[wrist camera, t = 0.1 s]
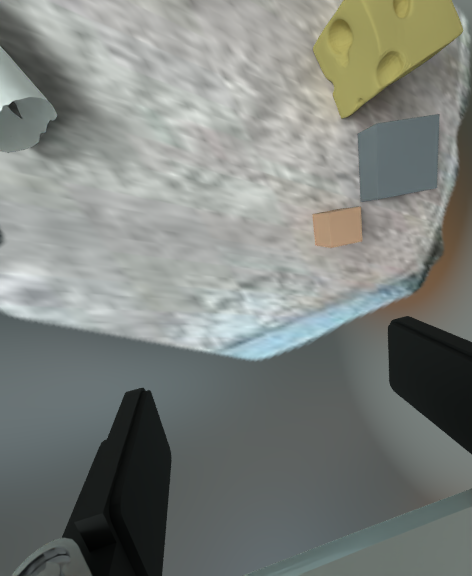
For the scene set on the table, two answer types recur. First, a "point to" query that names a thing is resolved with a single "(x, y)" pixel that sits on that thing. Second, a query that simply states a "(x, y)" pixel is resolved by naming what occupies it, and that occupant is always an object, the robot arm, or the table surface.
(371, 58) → the cheese
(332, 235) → the cube
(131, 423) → the robot arm
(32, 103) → the white hollow cylinder
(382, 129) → the pedestal
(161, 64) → the table surface
